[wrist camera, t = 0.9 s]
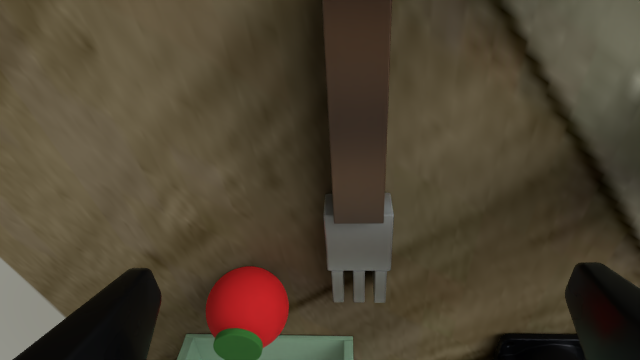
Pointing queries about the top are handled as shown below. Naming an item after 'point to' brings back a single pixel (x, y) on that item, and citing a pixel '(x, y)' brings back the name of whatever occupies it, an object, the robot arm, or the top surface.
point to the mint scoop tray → (276, 348)
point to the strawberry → (246, 312)
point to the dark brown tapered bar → (358, 144)
